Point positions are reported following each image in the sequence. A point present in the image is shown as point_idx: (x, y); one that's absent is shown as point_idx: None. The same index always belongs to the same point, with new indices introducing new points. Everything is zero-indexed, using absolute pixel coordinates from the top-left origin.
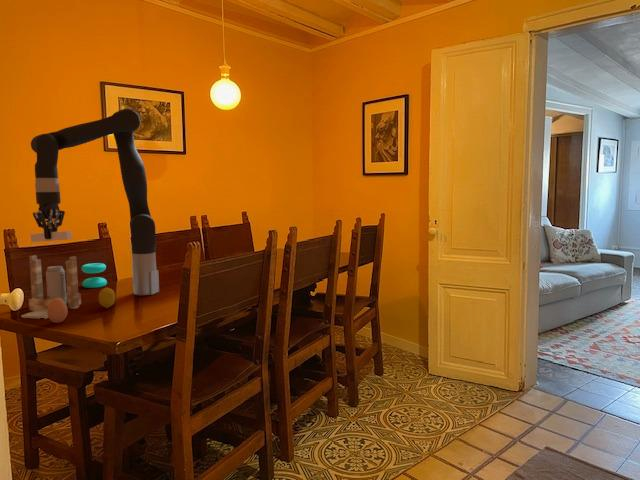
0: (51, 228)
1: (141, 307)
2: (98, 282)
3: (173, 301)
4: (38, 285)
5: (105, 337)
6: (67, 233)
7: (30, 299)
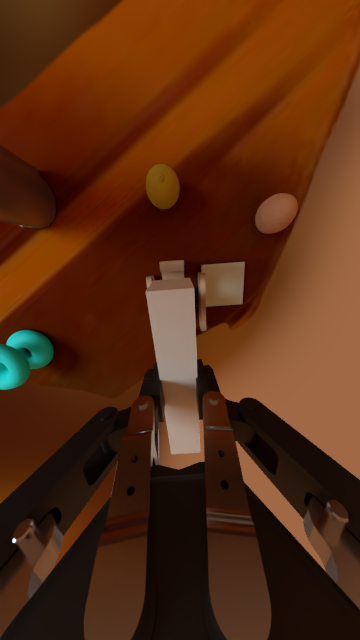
0: (163, 414)
1: (138, 116)
2: (33, 336)
3: (63, 55)
4: None
5: (356, 27)
6: (182, 285)
7: (205, 328)
